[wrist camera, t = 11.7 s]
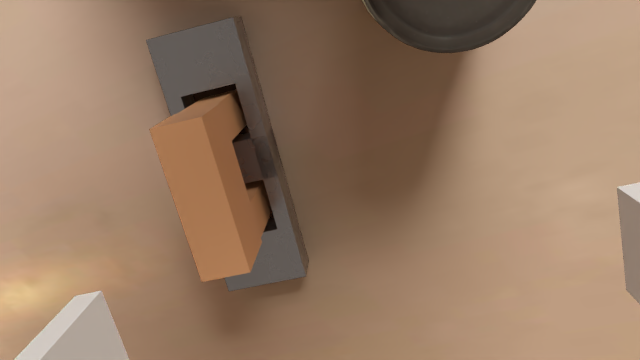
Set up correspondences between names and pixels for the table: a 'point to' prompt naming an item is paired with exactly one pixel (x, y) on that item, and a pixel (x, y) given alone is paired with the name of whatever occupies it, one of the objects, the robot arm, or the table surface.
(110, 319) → the robot arm
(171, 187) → the tan wooden block
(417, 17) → the coffee can
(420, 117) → the table surface
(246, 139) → the rail
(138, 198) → the table surface
